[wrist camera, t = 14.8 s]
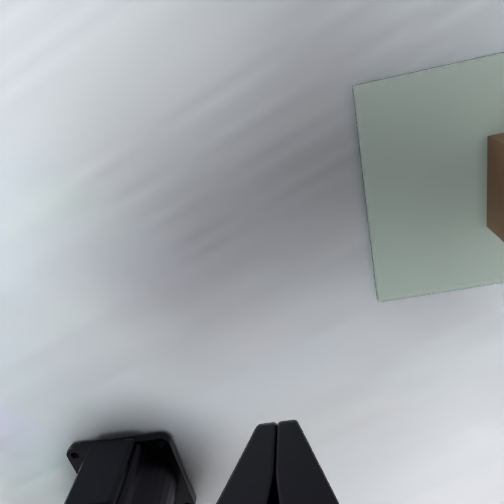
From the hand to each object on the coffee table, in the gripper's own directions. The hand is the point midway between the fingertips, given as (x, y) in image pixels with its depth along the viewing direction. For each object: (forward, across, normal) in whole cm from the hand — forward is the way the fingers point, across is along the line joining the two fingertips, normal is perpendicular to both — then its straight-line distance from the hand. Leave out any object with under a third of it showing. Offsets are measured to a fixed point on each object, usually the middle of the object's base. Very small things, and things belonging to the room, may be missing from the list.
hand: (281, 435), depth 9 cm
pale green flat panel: (+12, -11, 0) cm, 16 cm away
